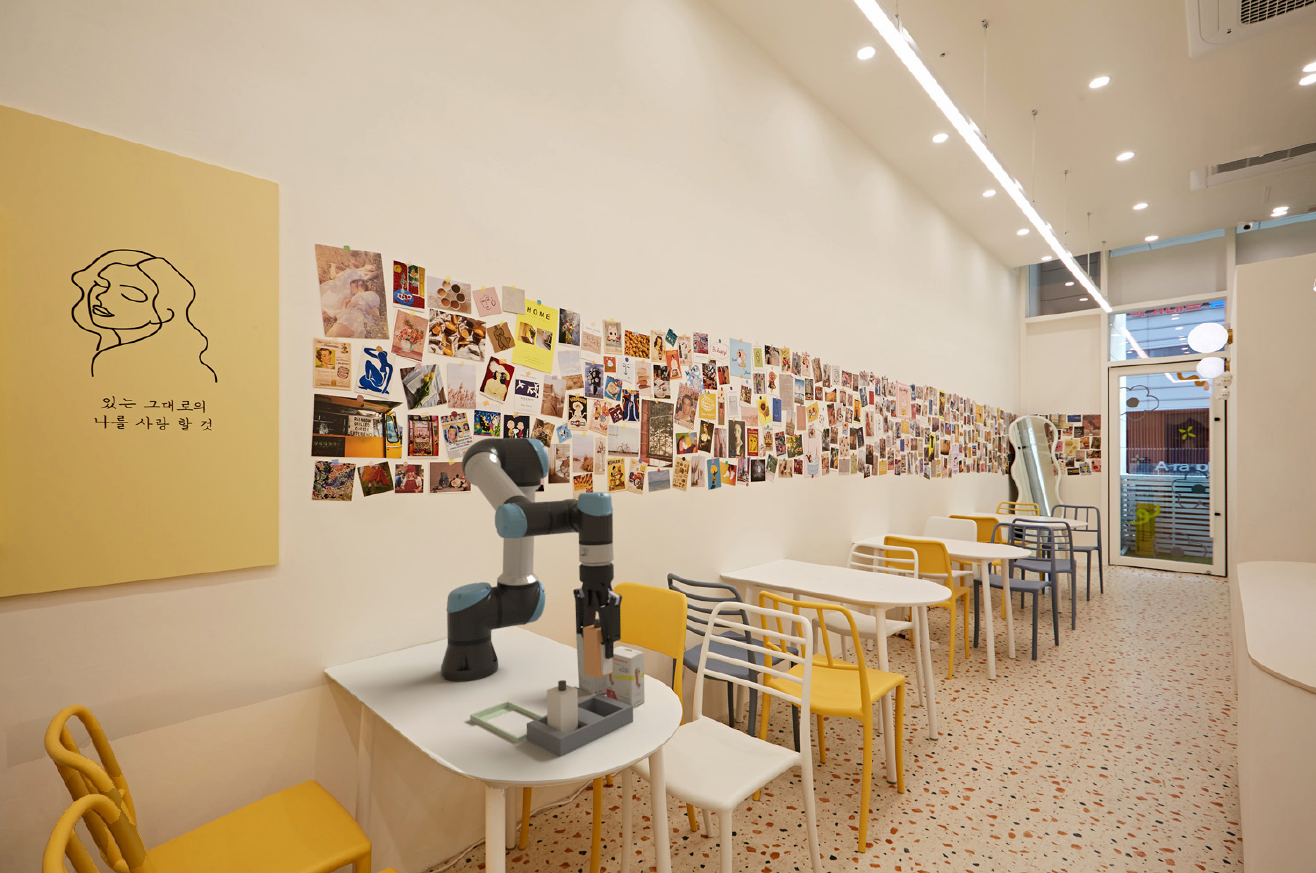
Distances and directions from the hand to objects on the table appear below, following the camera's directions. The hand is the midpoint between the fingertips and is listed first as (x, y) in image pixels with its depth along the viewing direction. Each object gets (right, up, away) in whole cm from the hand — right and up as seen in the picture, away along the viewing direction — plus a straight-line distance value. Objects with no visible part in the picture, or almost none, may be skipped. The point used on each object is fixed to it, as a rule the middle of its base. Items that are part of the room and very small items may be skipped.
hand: (598, 670), depth 131 cm
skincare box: (-3, -13, +20) cm, 24 cm away
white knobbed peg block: (-7, -11, -8) cm, 15 cm away
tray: (-19, -12, +1) cm, 23 cm away
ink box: (+5, -13, +13) cm, 19 cm away
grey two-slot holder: (-3, -12, -4) cm, 13 cm away
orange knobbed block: (0, -1, 0) cm, 1 cm away
